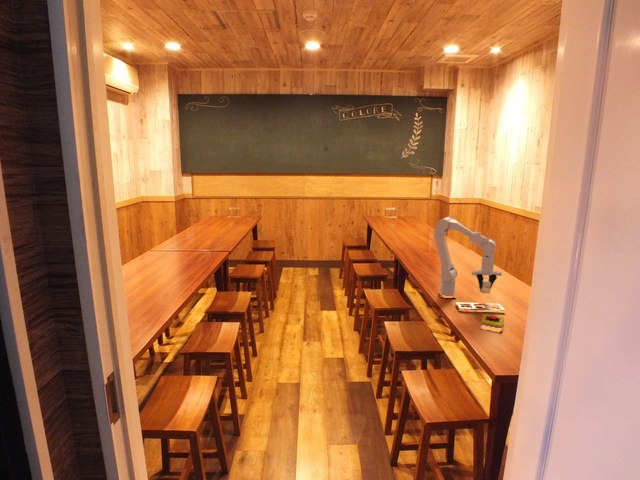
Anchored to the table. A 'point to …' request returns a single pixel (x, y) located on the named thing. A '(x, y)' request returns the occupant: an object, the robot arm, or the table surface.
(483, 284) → the birch peg
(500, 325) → the emergency button
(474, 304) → the tan slotted board
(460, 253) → the table surface
